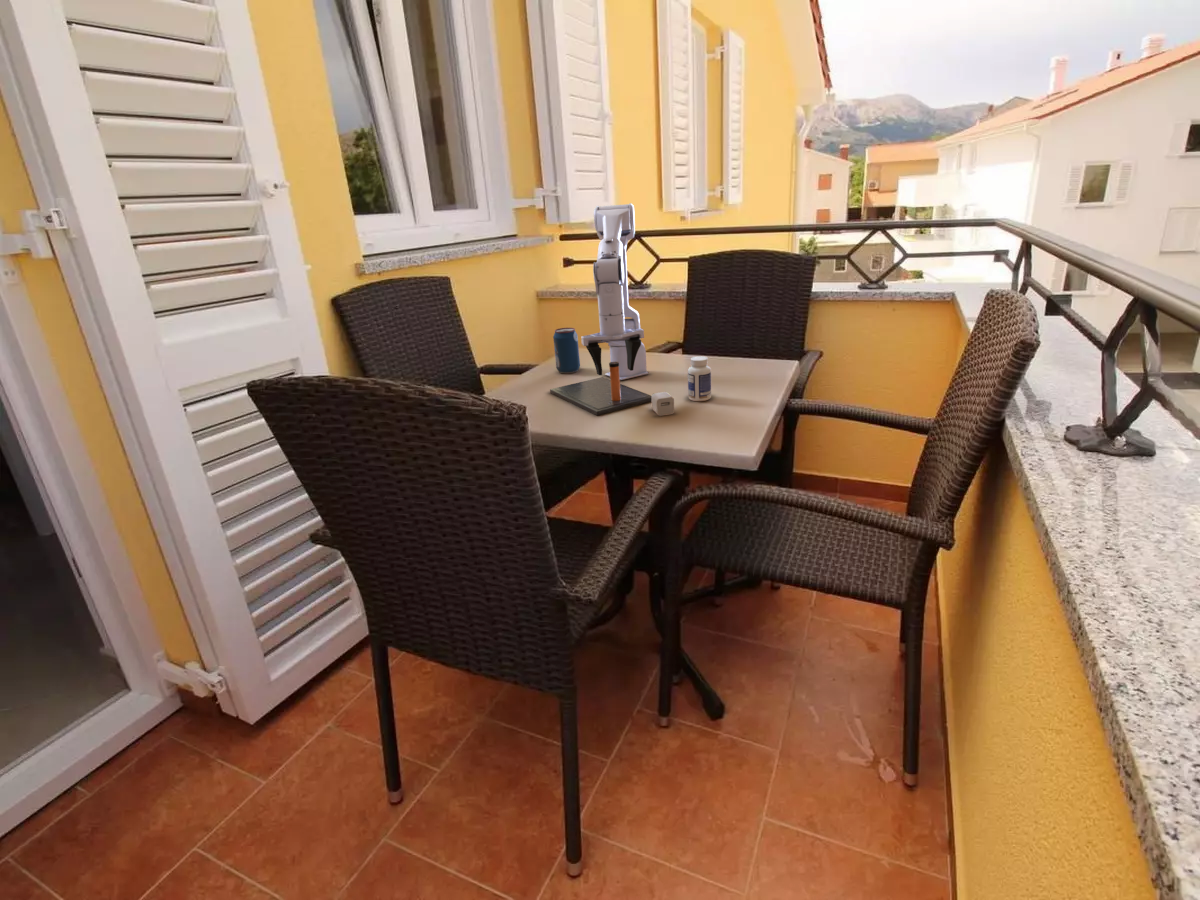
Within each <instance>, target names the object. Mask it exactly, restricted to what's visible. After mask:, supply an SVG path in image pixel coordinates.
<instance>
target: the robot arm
mask: <svg viewBox="0 0 1200 900" xmlns="http://www.w3.org/2000/svg"><path fill="white" fill-rule="evenodd" d="M593 223H594V229H595V232H596V234H597V237H598V239H599V240H600V241H599V243H598V248H597V255H596V262H595V261H594V262H593V265H592V274H593V275H592V276H593V281H594V282H593V283H594V286H595V294H596V295H597V305H598V320H599V321H598V322H599V332H596V333H591V334H587V335H581V336H580V338H581V345H582V346H583V347H585V348H586V349H587V351H588V353H589V355H590V357H591V359H592V361H593V364H594V367H595V371H596V374H597V375H598V376H603V366H602V348H601V347H600V344H604V343H605V344H607V345H608V347H609V359H610V360H609V361H610V362H619V376H620V381H623V380H628V379H632V378H636V377H637V378H638V377H641V376H645V375H649V371H648V370H647V367H648V366H647V350H646V346H645V344H644V343H643V341H642V340H641V339H644V338H645V330H644V329H643V328H641V319H640V314H639V311H638V310H636V309H635V308H633V307H632V306H630V303H629V285H628V264H627V263H628V262H627V248H628V242H629V241H630V240H633V239H635V235H636V217H635V206H634V205H633V203H631V202H630V203H627V204H612V205H611V204H610V205H600V206H599V205H595V207H594V209H593ZM604 375H605V376H607V377H609V378H610V371H609V372H606V373H604Z"/></svg>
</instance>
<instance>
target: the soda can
mask: <svg viewBox="0 0 1200 900" xmlns="http://www.w3.org/2000/svg"><path fill="white" fill-rule="evenodd" d="M552 338H553V339H552V340H553V348H554V350H553V351H554V358H555V368H556V370H557V371H558V373H560V374H573V373H576V372H578V371H579V369H580V368H581V359H580V348H579V347H580V346H579V336H578V333H577V332H576V328H574V327H561V328H556V329H555V330H554V332H553V336H552Z"/></svg>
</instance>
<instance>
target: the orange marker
mask: <svg viewBox="0 0 1200 900" xmlns="http://www.w3.org/2000/svg"><path fill="white" fill-rule="evenodd" d="M608 367H609V372H610V377H609V380H610V382H611V397H612V400H613V401H619V400H621V393H620V384H621V380H620V376H619V362H611V361H610V362H608Z"/></svg>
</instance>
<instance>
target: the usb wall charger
mask: <svg viewBox="0 0 1200 900" xmlns="http://www.w3.org/2000/svg"><path fill="white" fill-rule="evenodd" d="M651 409H652V411H654V413H656V415H657V416H659V417H661V416H668V415H673V414H674V413H675V398H674V397H673V396H672V395H670V394H669V393H668V392H667V391H661V392H660V391H659V392H654V393H652V394H651Z"/></svg>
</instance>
